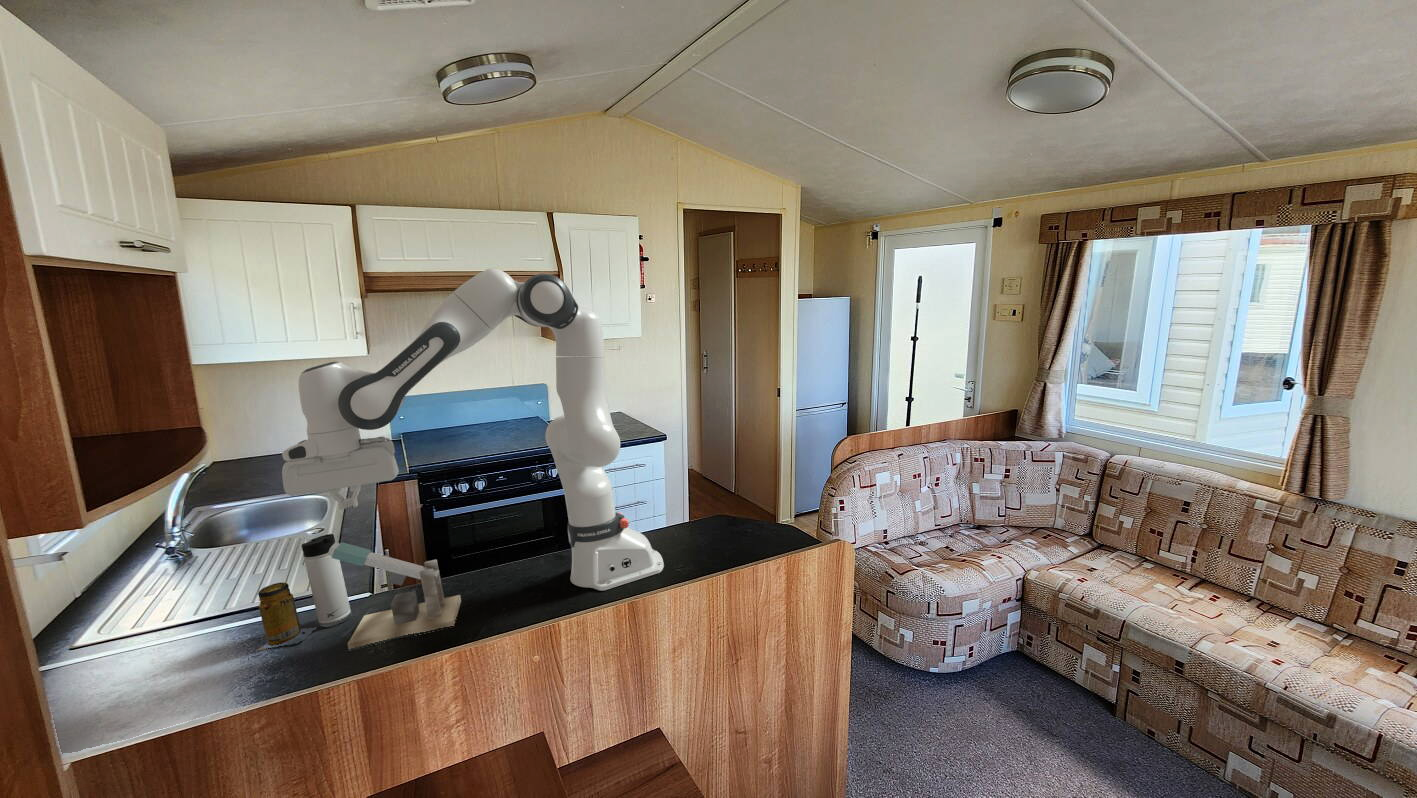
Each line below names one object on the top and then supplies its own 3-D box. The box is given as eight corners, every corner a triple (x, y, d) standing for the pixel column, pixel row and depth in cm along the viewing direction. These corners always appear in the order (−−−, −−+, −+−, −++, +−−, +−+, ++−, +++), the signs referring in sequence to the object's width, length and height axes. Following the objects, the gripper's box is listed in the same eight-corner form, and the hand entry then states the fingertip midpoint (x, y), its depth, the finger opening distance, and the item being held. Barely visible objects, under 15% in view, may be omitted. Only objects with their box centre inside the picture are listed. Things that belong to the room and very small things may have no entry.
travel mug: (337, 628, 129) (318, 542, 126) (312, 627, 130) (293, 543, 127) (359, 613, 135) (341, 531, 132) (335, 612, 136) (317, 531, 133)
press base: (461, 600, 136) (452, 551, 134) (454, 626, 124) (443, 573, 122) (365, 621, 131) (354, 570, 129) (349, 650, 119) (336, 595, 117)
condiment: (279, 632, 130) (266, 582, 128) (318, 626, 131) (307, 576, 129) (257, 651, 123) (244, 598, 121) (299, 645, 123) (287, 592, 121)
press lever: (433, 586, 130) (440, 569, 130) (429, 594, 126) (437, 577, 126) (329, 558, 123) (336, 540, 123) (321, 566, 119) (329, 548, 119)
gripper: (395, 432, 125) (407, 494, 127) (285, 447, 119) (299, 512, 122) (388, 437, 119) (400, 502, 121) (272, 454, 113) (287, 522, 116)
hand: (349, 507), depth 121 cm, fingers closed
